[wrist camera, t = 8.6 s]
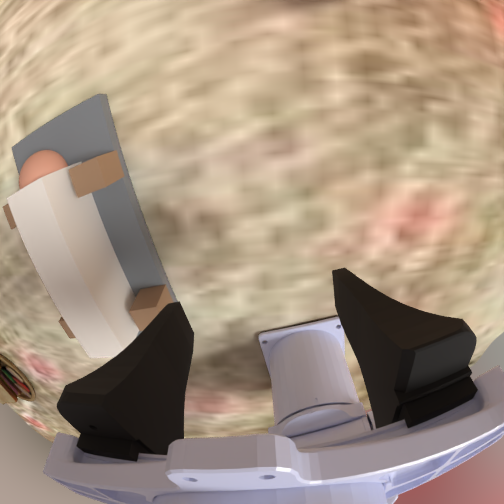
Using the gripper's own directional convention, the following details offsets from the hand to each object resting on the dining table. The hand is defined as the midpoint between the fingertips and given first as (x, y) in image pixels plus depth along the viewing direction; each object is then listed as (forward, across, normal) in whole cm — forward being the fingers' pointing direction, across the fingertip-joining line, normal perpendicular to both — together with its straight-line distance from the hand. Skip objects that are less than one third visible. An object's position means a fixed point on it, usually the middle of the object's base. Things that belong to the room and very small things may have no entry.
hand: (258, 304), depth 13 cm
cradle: (+9, +13, -2) cm, 16 cm away
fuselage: (+8, +13, -3) cm, 16 cm away
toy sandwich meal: (+10, +48, +16) cm, 51 cm away
